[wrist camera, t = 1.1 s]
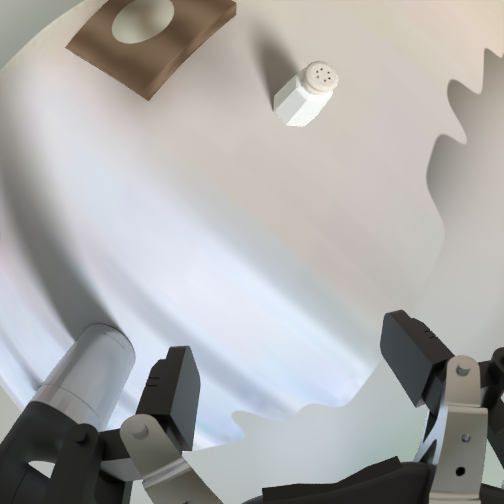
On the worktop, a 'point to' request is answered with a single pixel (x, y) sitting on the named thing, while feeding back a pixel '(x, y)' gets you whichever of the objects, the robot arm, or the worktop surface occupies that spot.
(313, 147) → the worktop surface
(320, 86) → the pepper shaker
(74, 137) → the worktop surface
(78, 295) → the worktop surface
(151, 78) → the walnut plinth
